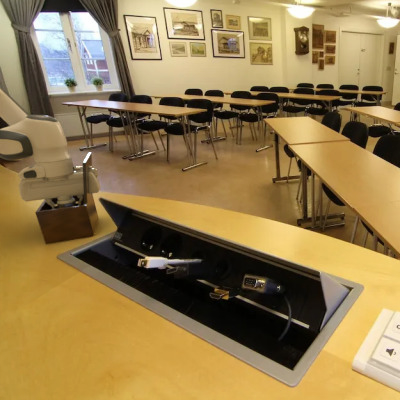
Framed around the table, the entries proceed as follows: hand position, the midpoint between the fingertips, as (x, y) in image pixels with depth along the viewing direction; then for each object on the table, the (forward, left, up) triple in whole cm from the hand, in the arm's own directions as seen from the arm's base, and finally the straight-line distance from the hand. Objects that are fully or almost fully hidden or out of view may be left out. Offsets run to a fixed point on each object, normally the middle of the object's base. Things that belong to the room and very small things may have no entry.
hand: (68, 208), depth 106 cm
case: (0, 0, -8) cm, 8 cm away
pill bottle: (0, 0, -4) cm, 4 cm away
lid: (+7, 0, +10) cm, 12 cm away
